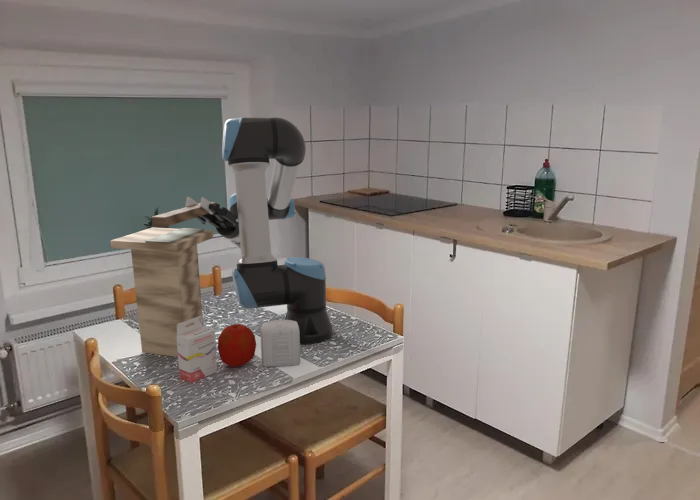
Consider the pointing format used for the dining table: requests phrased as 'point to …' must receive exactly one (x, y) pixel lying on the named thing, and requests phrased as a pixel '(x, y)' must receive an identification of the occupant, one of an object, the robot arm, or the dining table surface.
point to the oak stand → (165, 282)
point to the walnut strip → (179, 215)
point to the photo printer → (280, 343)
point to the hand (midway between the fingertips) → (194, 201)
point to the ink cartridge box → (196, 350)
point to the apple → (236, 345)
